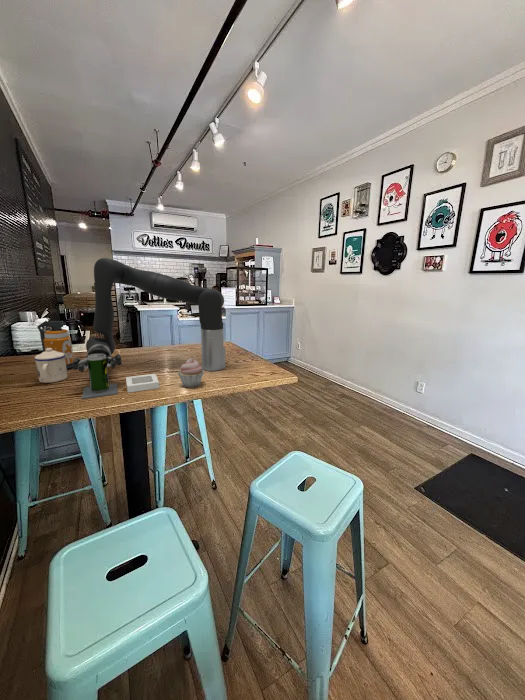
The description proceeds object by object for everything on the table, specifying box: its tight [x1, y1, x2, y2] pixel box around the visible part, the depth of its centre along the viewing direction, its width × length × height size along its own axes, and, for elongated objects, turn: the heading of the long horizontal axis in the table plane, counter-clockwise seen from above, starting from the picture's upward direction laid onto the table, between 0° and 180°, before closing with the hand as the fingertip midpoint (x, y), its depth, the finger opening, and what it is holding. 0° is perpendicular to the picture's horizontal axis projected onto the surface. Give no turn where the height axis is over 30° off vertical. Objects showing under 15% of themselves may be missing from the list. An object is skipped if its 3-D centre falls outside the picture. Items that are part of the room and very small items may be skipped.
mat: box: [81, 382, 118, 400], centre depth 94 cm, size 10×10×1 cm
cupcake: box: [177, 357, 205, 388], centre depth 101 cm, size 9×9×10 cm
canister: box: [36, 319, 75, 370], centre depth 115 cm, size 9×11×20 cm
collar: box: [125, 373, 160, 393], centre depth 100 cm, size 10×10×2 cm
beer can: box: [87, 353, 110, 393], centre depth 93 cm, size 5×5×12 cm
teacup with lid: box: [34, 348, 68, 384], centre depth 102 cm, size 12×9×12 cm
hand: (97, 367), depth 91 cm, fingers open, 8 cm apart
